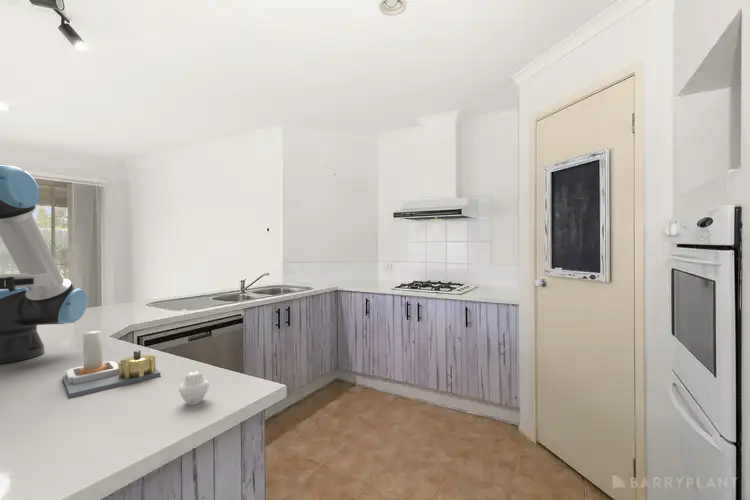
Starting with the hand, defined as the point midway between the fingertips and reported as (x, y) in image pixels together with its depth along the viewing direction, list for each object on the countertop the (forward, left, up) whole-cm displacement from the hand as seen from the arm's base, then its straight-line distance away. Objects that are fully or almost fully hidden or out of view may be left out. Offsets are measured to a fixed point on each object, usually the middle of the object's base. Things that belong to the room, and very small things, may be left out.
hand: (39, 279), depth 90 cm
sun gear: (+9, +19, -28) cm, 35 cm away
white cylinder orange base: (0, +10, -27) cm, 29 cm away
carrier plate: (+4, +14, -28) cm, 31 cm away
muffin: (+38, +24, -28) cm, 53 cm away
